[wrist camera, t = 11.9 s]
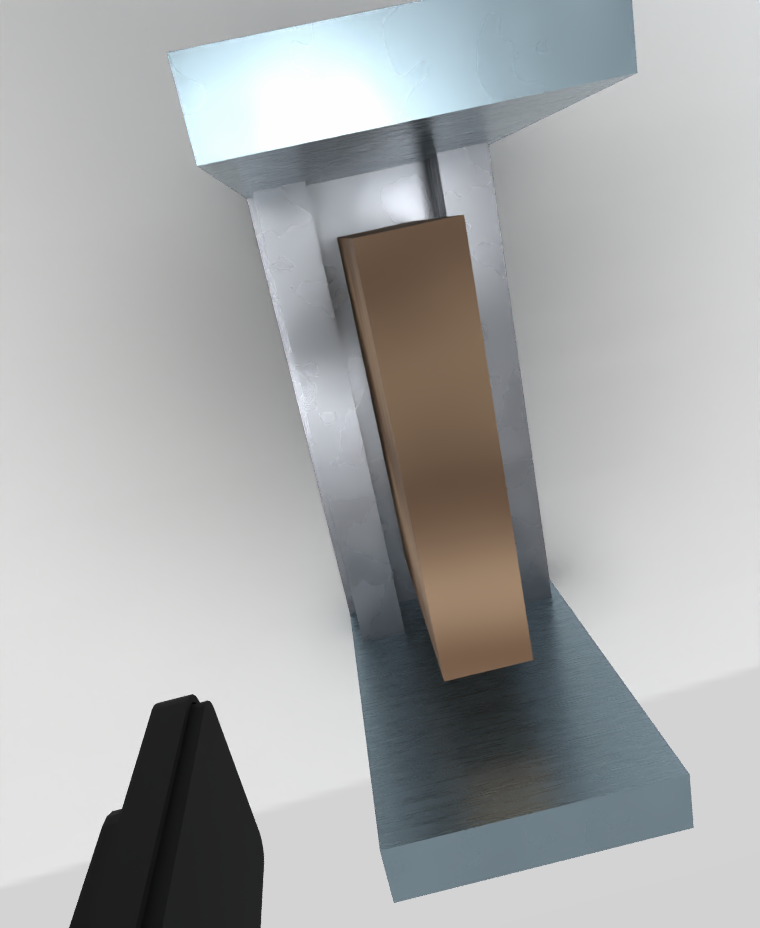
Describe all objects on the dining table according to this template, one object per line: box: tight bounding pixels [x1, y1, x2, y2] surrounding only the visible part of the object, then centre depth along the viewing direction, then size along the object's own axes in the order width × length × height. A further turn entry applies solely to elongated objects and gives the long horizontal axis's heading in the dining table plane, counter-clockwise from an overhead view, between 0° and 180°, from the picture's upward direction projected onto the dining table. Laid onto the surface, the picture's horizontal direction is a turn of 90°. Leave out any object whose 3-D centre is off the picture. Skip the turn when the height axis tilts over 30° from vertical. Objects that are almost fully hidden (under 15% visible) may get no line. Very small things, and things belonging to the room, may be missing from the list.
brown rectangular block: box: [337, 215, 533, 681], centre depth 25 cm, size 14×3×9 cm, turn 12°
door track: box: [167, 0, 693, 903], centre depth 24 cm, size 22×9×14 cm, turn 12°
